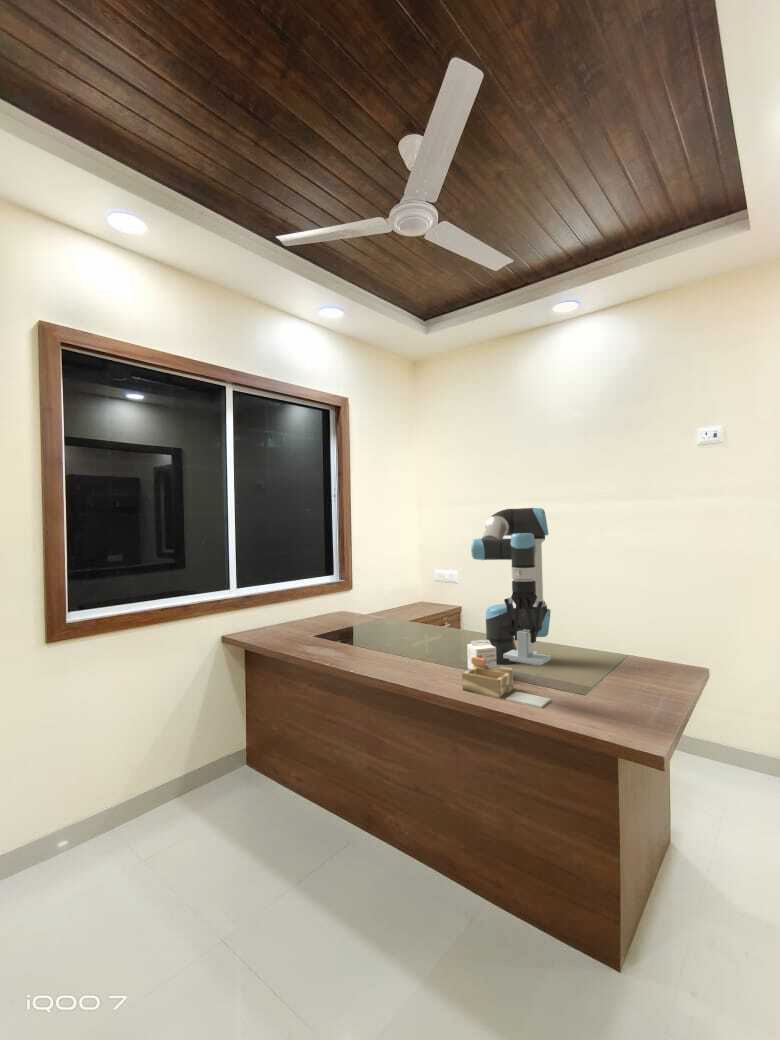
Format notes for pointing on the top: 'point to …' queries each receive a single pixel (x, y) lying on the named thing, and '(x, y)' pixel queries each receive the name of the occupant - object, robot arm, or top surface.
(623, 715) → the top surface
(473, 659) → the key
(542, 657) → the lid
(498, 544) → the robot arm
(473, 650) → the ink box
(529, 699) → the mat
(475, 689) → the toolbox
